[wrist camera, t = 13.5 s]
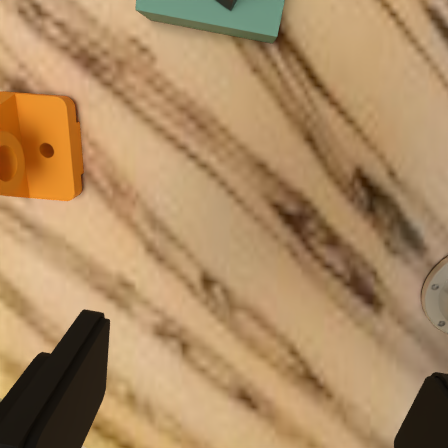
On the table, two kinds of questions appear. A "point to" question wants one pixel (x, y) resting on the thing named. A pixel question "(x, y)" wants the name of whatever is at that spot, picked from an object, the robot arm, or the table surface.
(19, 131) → the bracket
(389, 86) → the table surface
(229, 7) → the phone stand
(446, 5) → the table surface
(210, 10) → the green block
